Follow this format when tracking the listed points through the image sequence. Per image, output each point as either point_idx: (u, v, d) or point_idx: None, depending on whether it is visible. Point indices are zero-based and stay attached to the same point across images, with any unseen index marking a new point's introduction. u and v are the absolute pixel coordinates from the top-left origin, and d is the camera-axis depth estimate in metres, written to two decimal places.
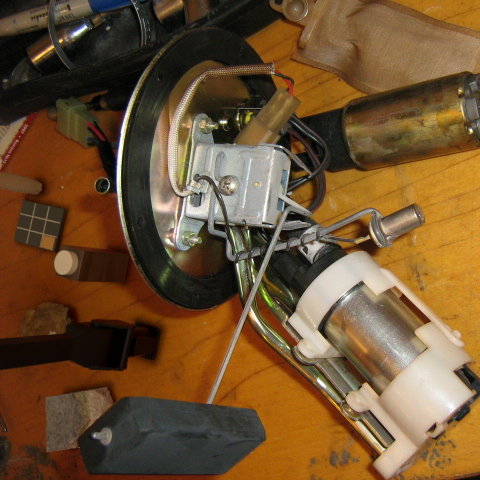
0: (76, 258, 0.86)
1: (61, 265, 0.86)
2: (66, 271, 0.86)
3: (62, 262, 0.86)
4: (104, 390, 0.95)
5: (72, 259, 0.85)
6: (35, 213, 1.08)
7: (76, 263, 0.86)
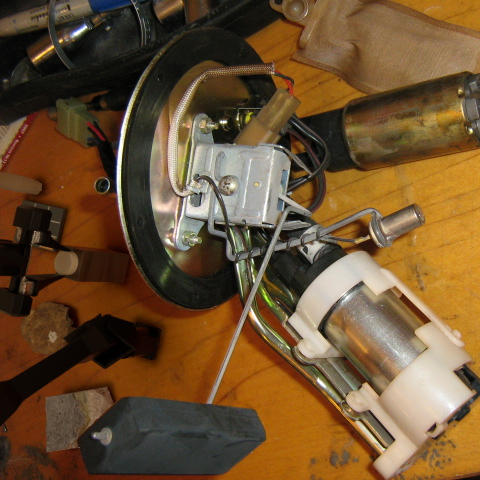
0: (76, 258, 0.86)
1: (61, 265, 0.86)
2: (66, 271, 0.86)
3: (62, 262, 0.86)
4: (104, 390, 0.95)
5: (72, 260, 0.85)
6: None
7: (76, 263, 0.86)
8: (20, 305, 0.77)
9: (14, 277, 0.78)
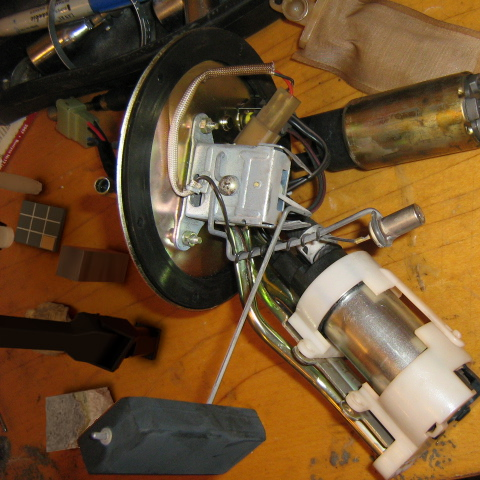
0: (12, 232, 0.94)
1: None
2: (2, 244, 0.93)
3: None
4: (104, 390, 0.95)
5: (7, 234, 0.93)
6: (35, 213, 1.08)
7: (12, 237, 0.93)
8: None
9: None
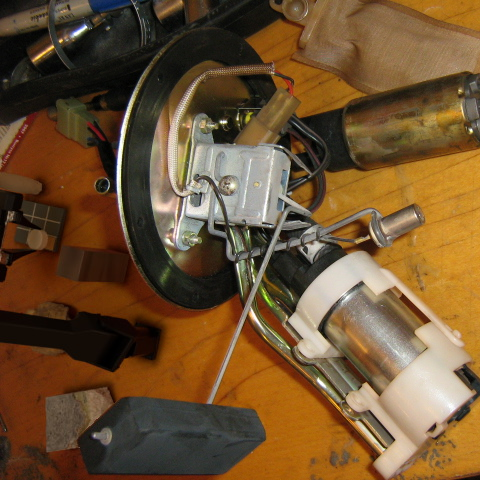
0: (46, 235, 1.02)
1: (33, 241, 1.02)
2: (37, 246, 1.01)
3: (34, 239, 1.02)
4: (104, 390, 0.95)
5: (42, 236, 1.01)
6: (35, 213, 1.08)
7: (46, 240, 1.02)
8: None
9: None
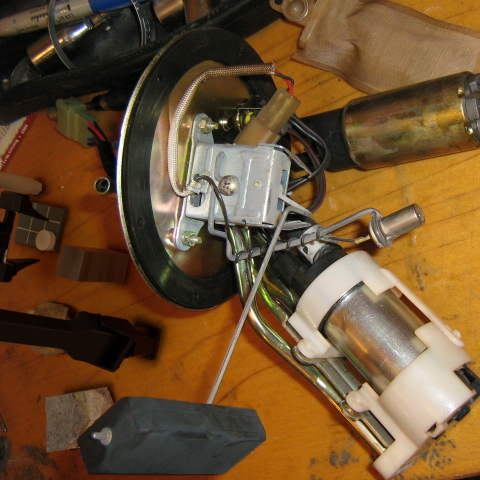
0: (53, 236, 1.04)
1: (41, 242, 1.04)
2: (45, 247, 1.03)
3: (42, 240, 1.04)
4: (104, 390, 0.95)
5: (50, 237, 1.03)
6: None
7: (53, 240, 1.04)
8: (4, 272, 0.94)
9: None
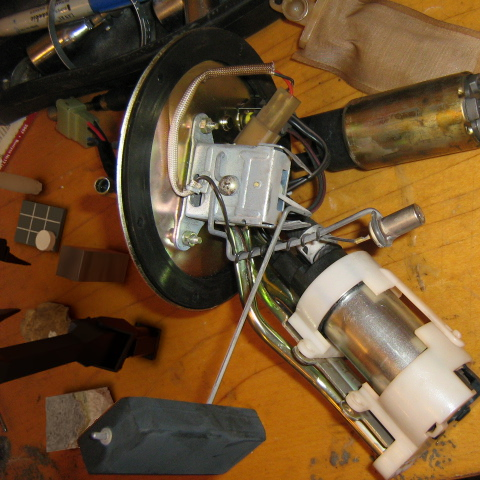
0: (53, 236, 1.04)
1: (41, 242, 1.04)
2: (45, 247, 1.03)
3: (42, 240, 1.04)
4: (104, 390, 0.95)
5: (50, 237, 1.03)
6: (35, 213, 1.08)
7: (53, 240, 1.04)
8: None
9: None
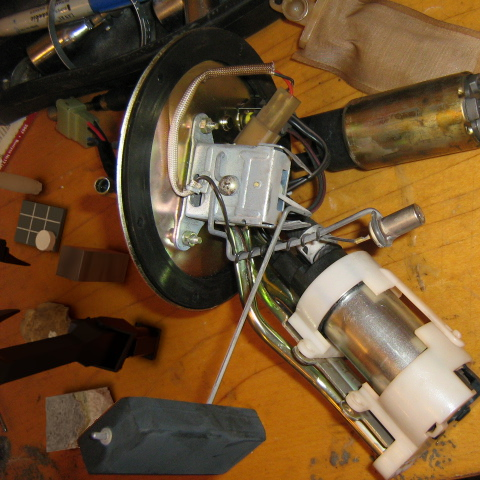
0: (53, 236, 1.04)
1: (41, 242, 1.04)
2: (45, 247, 1.03)
3: (42, 240, 1.04)
4: (104, 390, 0.95)
5: (50, 237, 1.03)
6: (35, 213, 1.08)
7: (53, 240, 1.04)
8: None
9: None
